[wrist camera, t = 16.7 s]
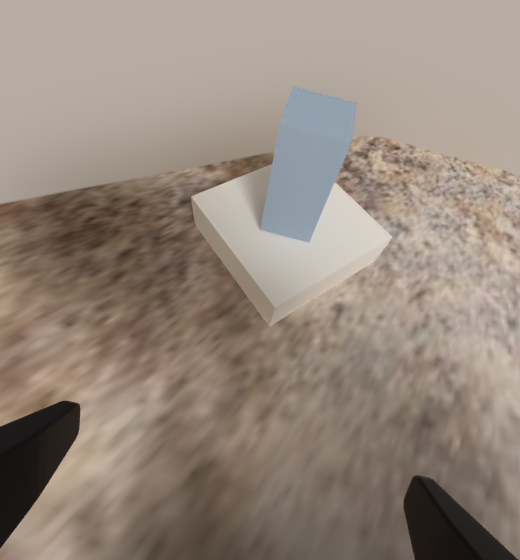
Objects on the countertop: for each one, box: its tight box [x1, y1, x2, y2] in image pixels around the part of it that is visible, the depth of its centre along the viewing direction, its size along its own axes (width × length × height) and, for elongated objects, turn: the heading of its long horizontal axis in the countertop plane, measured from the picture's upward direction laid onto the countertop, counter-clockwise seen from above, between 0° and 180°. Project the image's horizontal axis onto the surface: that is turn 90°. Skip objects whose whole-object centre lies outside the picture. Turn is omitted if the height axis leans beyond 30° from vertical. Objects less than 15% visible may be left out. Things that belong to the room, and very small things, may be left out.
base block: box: [191, 164, 392, 327], centre depth 28 cm, size 12×12×4 cm
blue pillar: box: [260, 87, 356, 242], centre depth 22 cm, size 4×4×9 cm
